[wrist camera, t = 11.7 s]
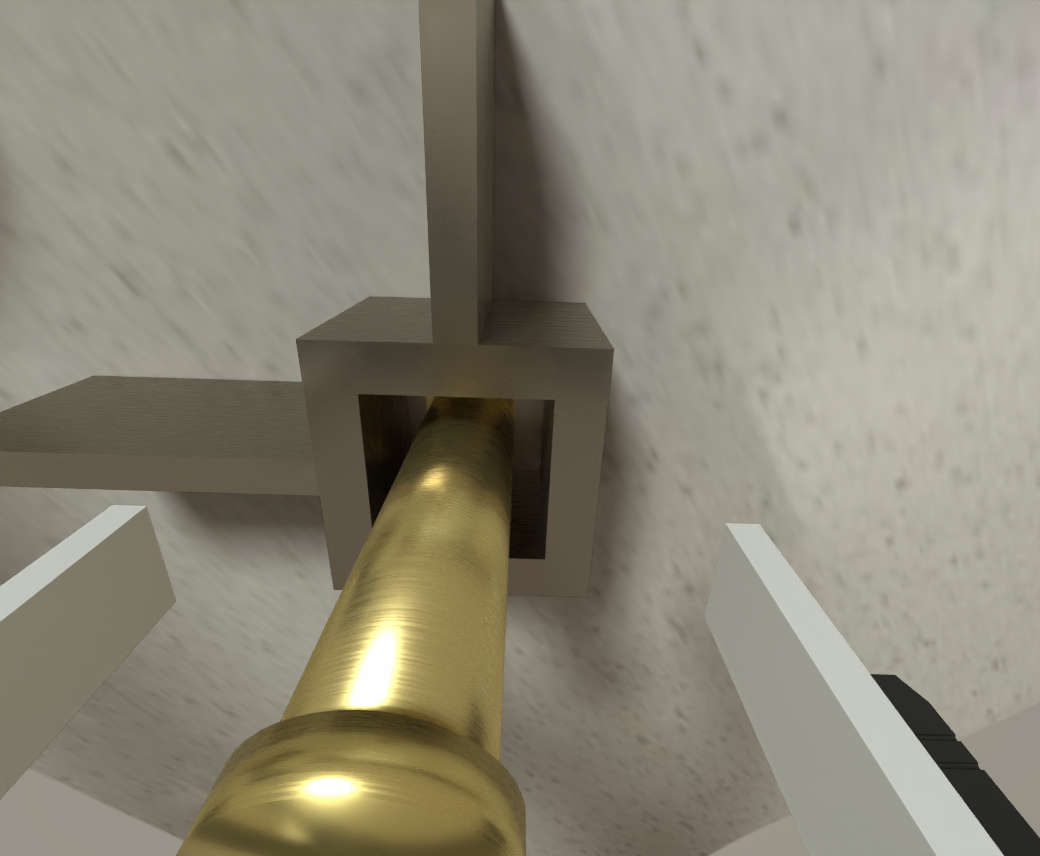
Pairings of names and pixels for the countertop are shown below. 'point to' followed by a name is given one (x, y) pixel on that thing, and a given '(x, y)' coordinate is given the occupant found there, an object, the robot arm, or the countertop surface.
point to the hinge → (373, 373)
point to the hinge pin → (398, 678)
